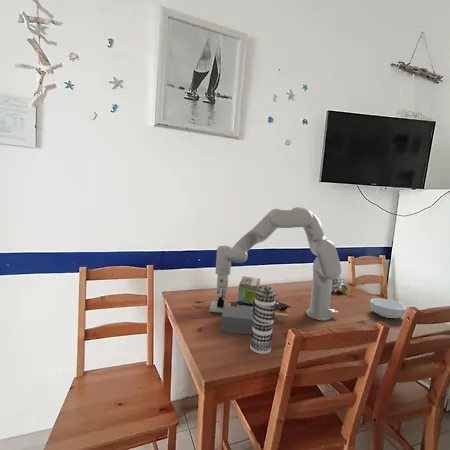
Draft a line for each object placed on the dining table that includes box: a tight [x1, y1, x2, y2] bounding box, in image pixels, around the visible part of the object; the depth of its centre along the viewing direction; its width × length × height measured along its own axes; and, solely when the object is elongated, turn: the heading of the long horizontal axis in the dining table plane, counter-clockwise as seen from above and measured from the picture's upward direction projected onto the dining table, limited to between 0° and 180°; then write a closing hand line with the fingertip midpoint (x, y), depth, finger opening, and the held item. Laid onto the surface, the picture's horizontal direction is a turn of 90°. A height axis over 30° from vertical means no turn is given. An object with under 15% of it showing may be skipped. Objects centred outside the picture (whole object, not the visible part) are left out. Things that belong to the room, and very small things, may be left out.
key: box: [273, 311, 289, 322], centre depth 147 cm, size 11×2×3 cm, turn 85°
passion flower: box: [331, 275, 350, 296], centre depth 197 cm, size 13×12×14 cm
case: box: [220, 306, 255, 336], centre depth 136 cm, size 17×12×7 cm
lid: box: [208, 297, 232, 314], centre depth 153 cm, size 10×10×5 cm
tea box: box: [236, 275, 261, 309], centre depth 161 cm, size 15×10×15 cm
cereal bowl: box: [369, 297, 407, 319], centre depth 162 cm, size 17×17×7 cm
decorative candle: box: [249, 285, 277, 355], centre depth 119 cm, size 9×9×25 cm
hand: (220, 304), depth 153 cm, fingers closed on lid, 3 cm apart
